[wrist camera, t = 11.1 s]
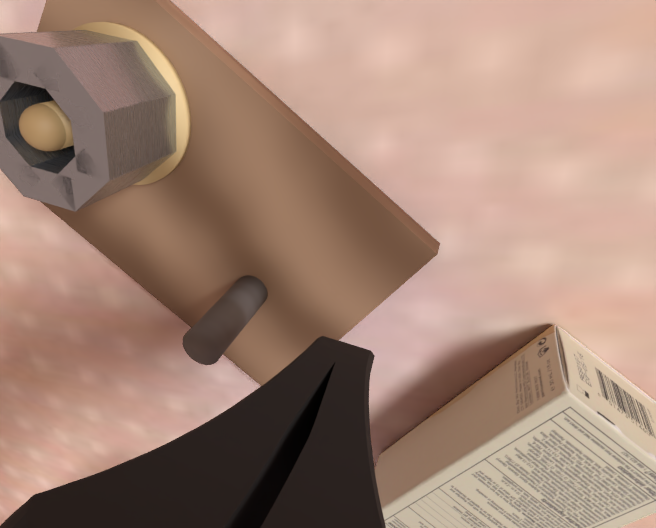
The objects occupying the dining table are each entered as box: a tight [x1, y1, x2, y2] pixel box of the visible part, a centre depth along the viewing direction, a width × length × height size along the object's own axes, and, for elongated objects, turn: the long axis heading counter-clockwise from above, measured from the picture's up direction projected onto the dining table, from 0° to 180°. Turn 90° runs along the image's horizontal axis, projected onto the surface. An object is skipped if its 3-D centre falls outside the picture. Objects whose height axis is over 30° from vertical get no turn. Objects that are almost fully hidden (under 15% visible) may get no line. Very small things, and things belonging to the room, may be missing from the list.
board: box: [19, 0, 440, 386], centre depth 19 cm, size 12×18×6 cm, turn 52°
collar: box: [0, 30, 176, 212], centre depth 18 cm, size 6×6×4 cm
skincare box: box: [375, 325, 656, 528], centre depth 21 cm, size 6×4×12 cm
